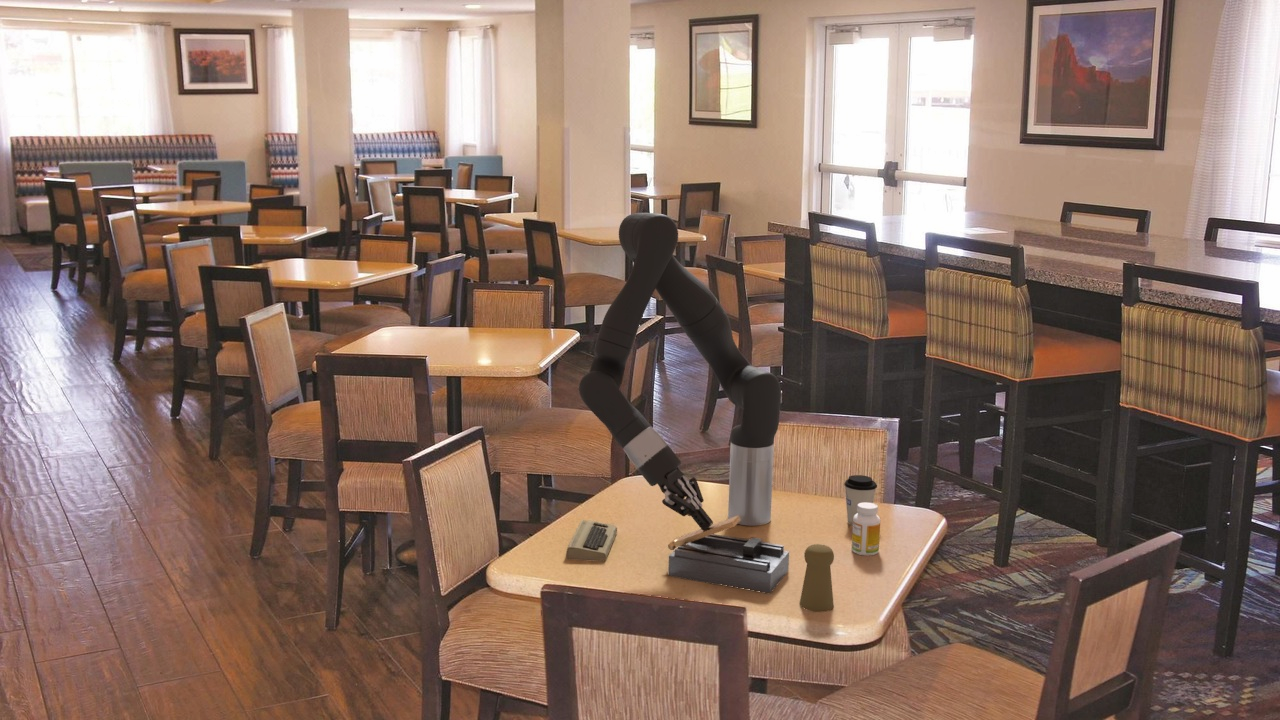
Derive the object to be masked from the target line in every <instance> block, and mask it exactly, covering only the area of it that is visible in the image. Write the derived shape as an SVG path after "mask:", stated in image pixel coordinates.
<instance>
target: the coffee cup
mask: <svg viewBox="0 0 1280 720" xmlns="http://www.w3.org/2000/svg"><path fill="white" fill-rule="evenodd" d="M843 485H844V488H845V489H844V491H845V501H846V502H845V503H846V518H847V524H848V523H849V526H852V525H853V517H854V515H855V514H857V513H858V512H857V506H858V504H859V503H863V502H868V503H874V499H875V494H876V490H877V488H878V485H877V483H876V482H875V481H874V480H873V478H872V477H870V476H867V475H862V474H858V475H850V476H848V478H847V479H846V480H845V482H844V484H843Z"/></svg>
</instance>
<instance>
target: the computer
mask: <svg viewBox="0 0 1280 720" xmlns="http://www.w3.org/2000/svg"><path fill="white" fill-rule="evenodd" d="M617 533H618V527H617V525H615V524H611V523H604V522H601V521H600V522H599V521H594V520H585V519H582V520H580V522H579V524H578V526H577V528H576V529H575V532H574V534H573V536H572V538H571V540H570V542H569V544H568V546H567V548H566V552H565V560H573V561H575V560H576V561H591V562H594V561H595V562H606V560H607V557H608V556H609V553H610V550H611V547H612V545H613V544H614V542H615V538H616V535H617Z"/></svg>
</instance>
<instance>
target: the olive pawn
mask: <svg viewBox="0 0 1280 720" xmlns="http://www.w3.org/2000/svg"><path fill="white" fill-rule="evenodd" d="M803 553H804V555H803V557H804V561H805V563H806V567H805V568H806V569H805V573H804V577H803V583H802V584H803V585H802V589H801V594H800V598H799V599H800V600H799V606H800V607H801V608H802V609H804V608H805V609H804V610H806V609H807V611H810V612H815V613H816V612H819V613H820V612H828V611H830V610H833V609H834V594H833V593H834V592H833V583H832V571H831V566H832V564H833V563H834V560H835V553H834V551H833V548H831V547H830V546H829V545H825V544H819V543H815V544H811V545H809V546H807V547H806V549H805V550H804V552H803Z"/></svg>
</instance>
